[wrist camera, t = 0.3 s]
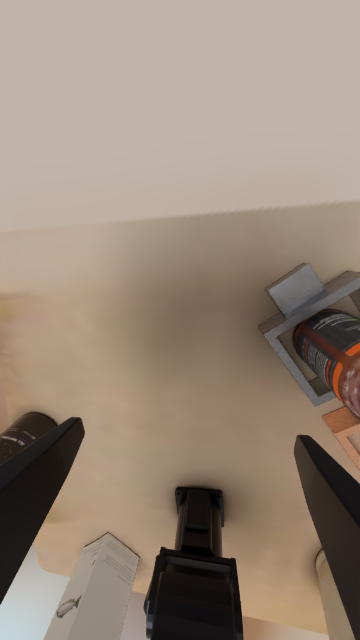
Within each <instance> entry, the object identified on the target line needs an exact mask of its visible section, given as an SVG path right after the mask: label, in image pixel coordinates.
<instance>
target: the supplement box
mask: <svg viewBox="0 0 360 640" xmlns="http://www.w3.org/2000/svg"><path fill="white" fill-rule="evenodd" d="M138 561H139V557H138V556H137V555H136V554H135V553H133V552H132V551H131V550H130V549H128V548H127V547H126V546H125V545H124V544H122V543H121V542H120V541H118V540H117V539H116V538H115V537H114V536H112V535H111V534H110V533H107V534H106V535H104V536H103V537H102V538H100V539H98V540H97V541H95V542H93V543H92V544H90V545H88V546H86V547H84V548H83V551H82V553H81V555H80V558H79V560H78V562H77V564H76V566H75V569H74V571H73V573H72V576H71V578H70V580H69V582H68V585H67V587H66V589H65V592H64V594H63V596H62V598H61V601H60V603H59V605H58V608H57V610H56V612H55V615H54V617H53V619H52V621H51V624H50V626H49V628H48V631H47V633H46V635H45V638H44V640H119V639H120V636H121V632H122V627H123V623H124V619H125V615H126V611H127V607H128V602H129V598H130V594H131V590H132V586H133V582H134V578H135V574H136V569H137V565H138Z"/></svg>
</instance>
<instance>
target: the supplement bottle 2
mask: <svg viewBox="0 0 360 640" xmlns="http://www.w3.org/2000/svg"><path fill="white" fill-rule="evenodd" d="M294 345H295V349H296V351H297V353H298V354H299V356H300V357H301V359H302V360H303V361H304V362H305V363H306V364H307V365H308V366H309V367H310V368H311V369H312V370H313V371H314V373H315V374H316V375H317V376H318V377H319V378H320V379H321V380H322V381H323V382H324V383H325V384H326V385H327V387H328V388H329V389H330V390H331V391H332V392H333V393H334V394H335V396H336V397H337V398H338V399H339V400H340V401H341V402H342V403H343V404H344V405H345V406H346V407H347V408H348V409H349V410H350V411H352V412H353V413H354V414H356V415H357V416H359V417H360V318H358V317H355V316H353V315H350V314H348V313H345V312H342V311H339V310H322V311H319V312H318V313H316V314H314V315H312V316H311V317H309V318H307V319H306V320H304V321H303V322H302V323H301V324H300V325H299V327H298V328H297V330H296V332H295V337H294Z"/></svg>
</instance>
